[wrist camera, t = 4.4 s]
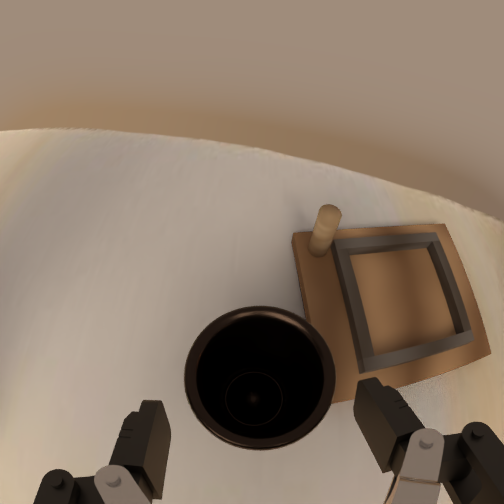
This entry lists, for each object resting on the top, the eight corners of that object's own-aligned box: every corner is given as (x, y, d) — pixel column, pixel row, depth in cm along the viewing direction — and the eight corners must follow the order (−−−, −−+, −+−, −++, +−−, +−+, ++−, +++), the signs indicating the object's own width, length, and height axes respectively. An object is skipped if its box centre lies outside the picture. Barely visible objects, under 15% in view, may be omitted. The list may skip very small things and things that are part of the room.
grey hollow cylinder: (226, 357, 19) (207, 290, 10) (297, 372, 18) (346, 319, 9) (208, 424, 16) (165, 427, 7) (282, 440, 16) (321, 461, 7)
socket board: (320, 405, 17) (345, 399, 12) (291, 241, 23) (301, 195, 19) (482, 357, 18) (525, 336, 13) (438, 231, 24) (466, 194, 20)
